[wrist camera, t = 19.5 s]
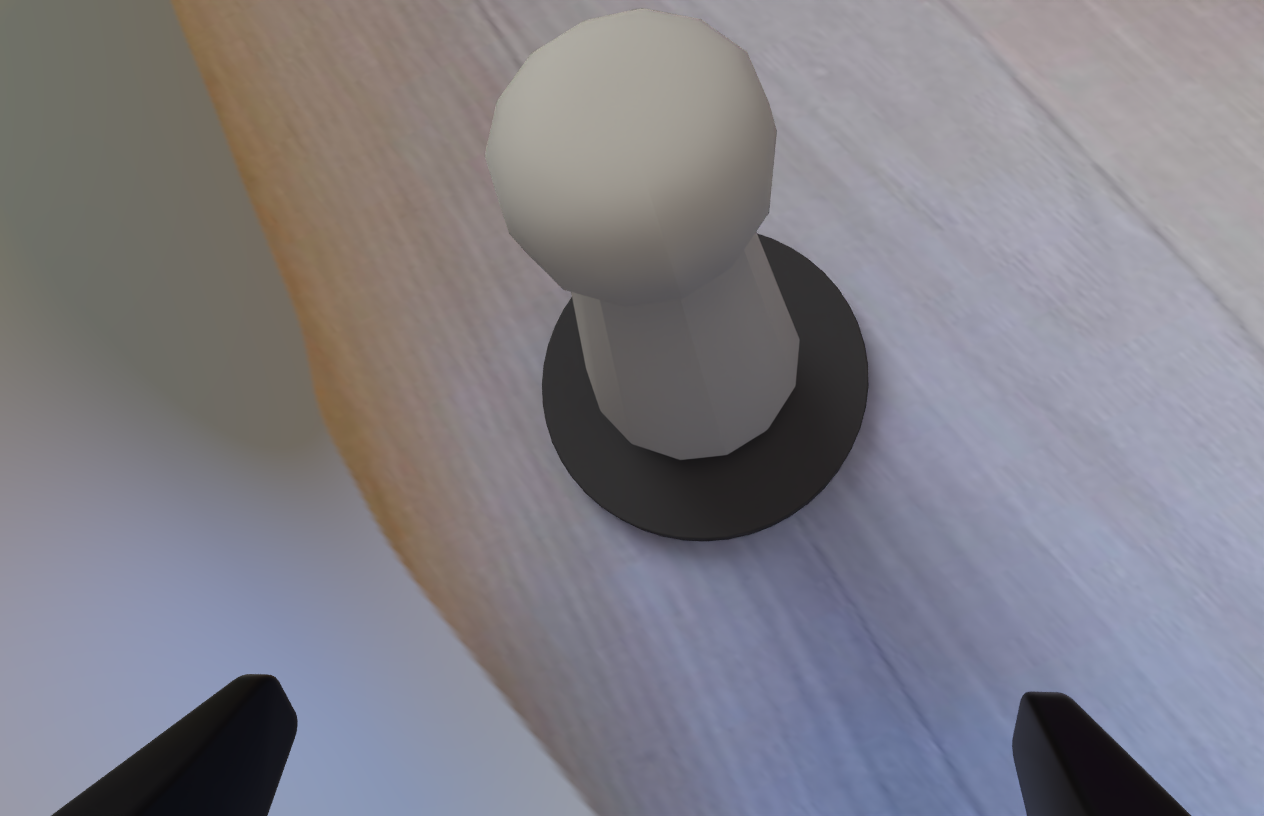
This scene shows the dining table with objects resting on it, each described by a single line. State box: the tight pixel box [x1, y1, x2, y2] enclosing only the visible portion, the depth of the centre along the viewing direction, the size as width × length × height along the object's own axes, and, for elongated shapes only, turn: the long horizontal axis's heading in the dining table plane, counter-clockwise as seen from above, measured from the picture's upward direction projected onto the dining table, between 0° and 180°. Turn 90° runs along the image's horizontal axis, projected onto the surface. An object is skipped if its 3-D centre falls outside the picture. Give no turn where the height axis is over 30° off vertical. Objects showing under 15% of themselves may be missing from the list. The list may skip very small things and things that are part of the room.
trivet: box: [542, 234, 868, 541], centre depth 23 cm, size 10×10×1 cm
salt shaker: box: [485, 8, 800, 460], centre depth 16 cm, size 6×6×13 cm
